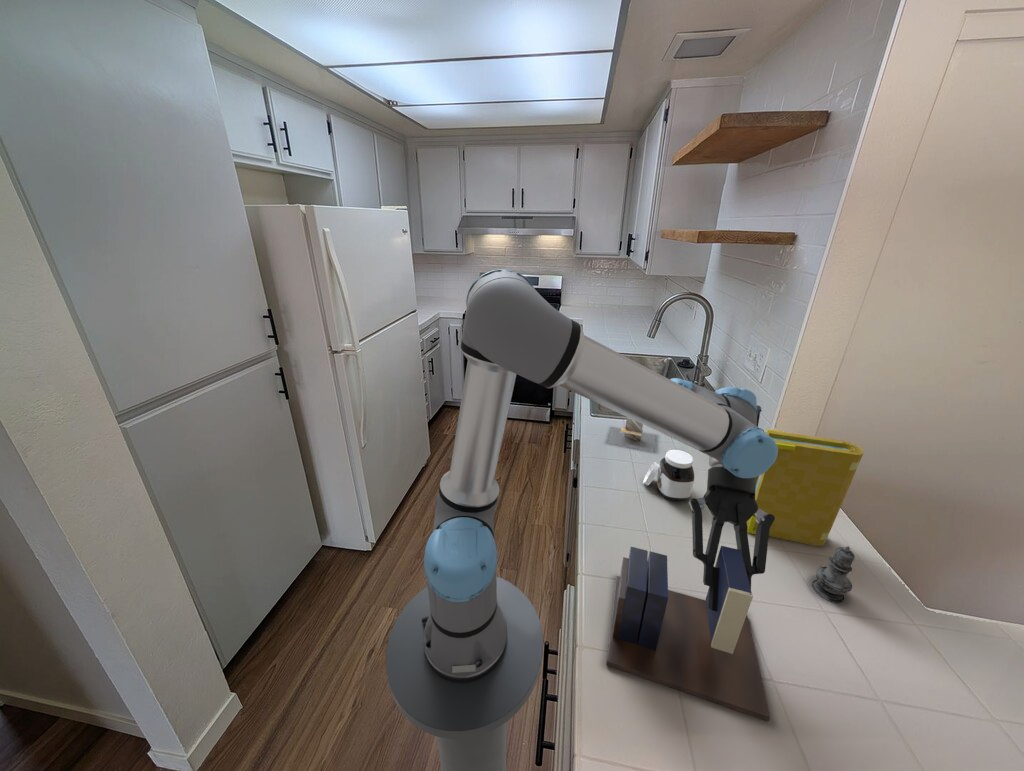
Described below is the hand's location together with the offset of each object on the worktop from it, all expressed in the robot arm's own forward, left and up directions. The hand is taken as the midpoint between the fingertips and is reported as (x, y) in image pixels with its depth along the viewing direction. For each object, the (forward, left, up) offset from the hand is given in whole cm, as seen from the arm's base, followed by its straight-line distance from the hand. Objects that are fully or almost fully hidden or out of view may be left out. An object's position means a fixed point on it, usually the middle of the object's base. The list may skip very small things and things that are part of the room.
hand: (725, 613), depth 62 cm
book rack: (-5, +1, -11) cm, 12 cm away
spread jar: (-7, +45, -11) cm, 47 cm away
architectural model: (-17, +70, -11) cm, 73 cm away
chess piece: (+24, +22, -11) cm, 34 cm away
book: (+20, +38, -11) cm, 44 cm away
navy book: (0, +1, -5) cm, 5 cm away
